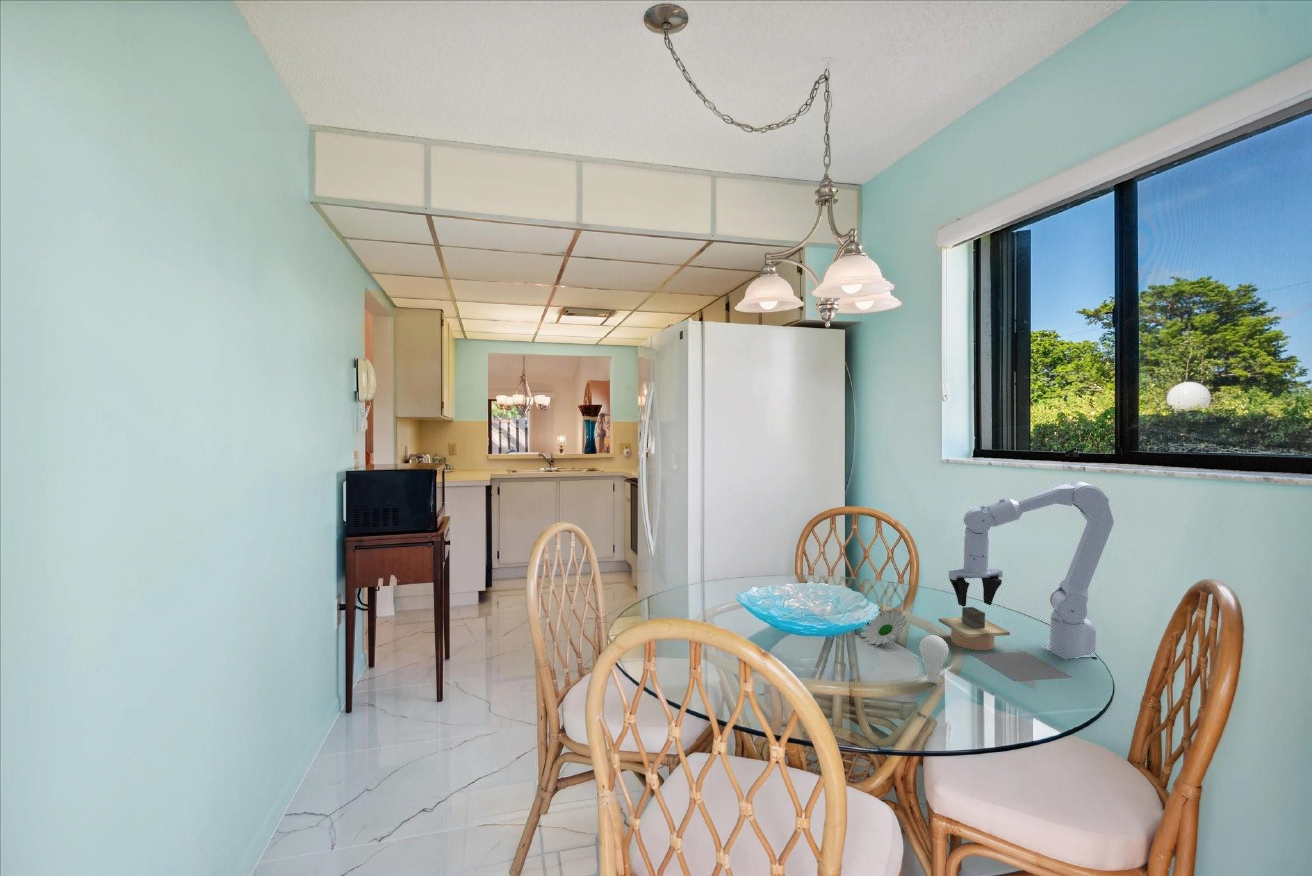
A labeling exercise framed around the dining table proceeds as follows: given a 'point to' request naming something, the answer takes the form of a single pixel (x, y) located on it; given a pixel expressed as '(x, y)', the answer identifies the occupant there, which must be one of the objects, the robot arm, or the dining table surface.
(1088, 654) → the robot arm
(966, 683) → the dining table surface
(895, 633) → the flower
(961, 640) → the bowl
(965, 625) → the lid
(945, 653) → the lightbulb
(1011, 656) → the mat
